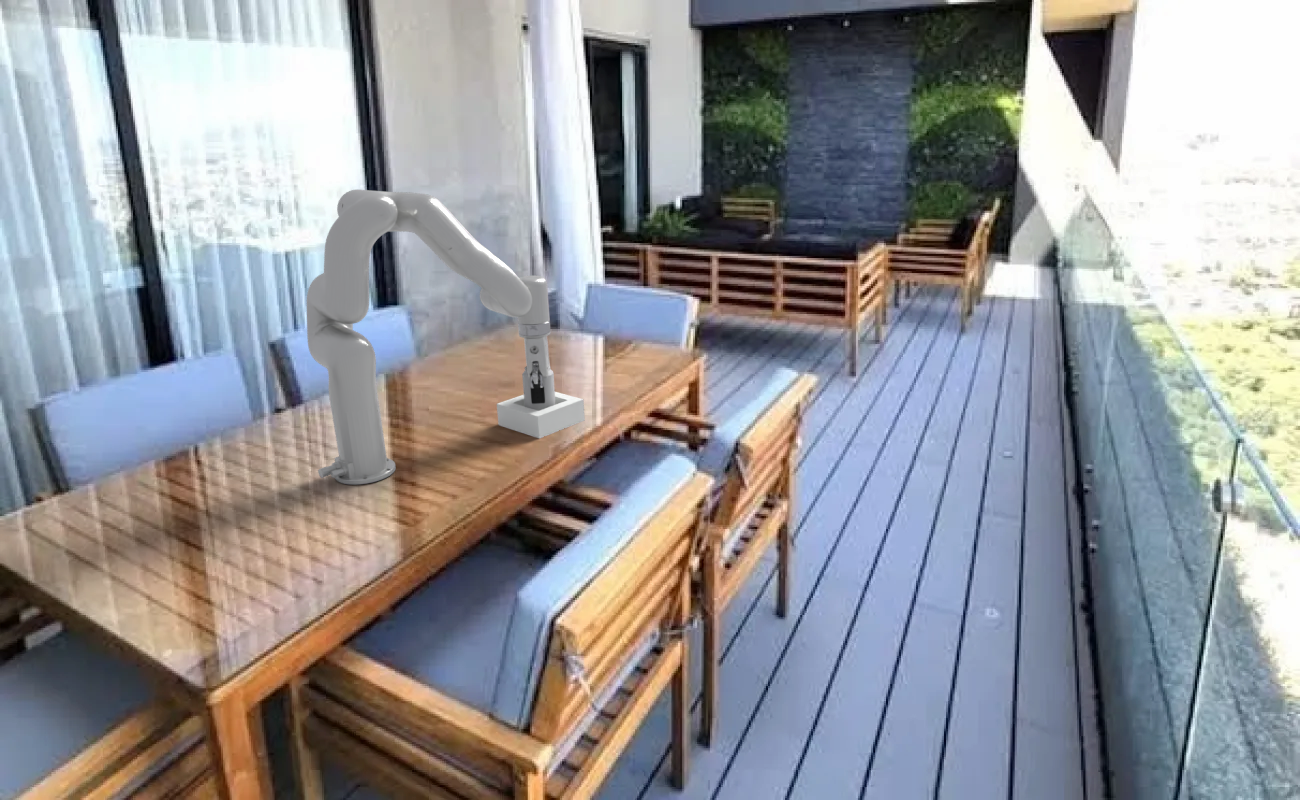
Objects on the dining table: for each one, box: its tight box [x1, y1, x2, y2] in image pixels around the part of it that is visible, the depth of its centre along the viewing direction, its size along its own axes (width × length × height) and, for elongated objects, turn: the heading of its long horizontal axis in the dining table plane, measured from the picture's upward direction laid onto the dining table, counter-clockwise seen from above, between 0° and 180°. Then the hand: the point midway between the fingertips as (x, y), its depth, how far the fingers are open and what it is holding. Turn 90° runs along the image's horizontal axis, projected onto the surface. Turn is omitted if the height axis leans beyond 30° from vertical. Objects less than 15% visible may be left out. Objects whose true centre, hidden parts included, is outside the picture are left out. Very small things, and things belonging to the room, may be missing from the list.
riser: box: [496, 391, 586, 439], centre depth 207 cm, size 15×15×6 cm
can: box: [521, 364, 556, 411], centre depth 204 cm, size 8×8×12 cm
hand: (539, 396), depth 205 cm, fingers open, 9 cm apart
